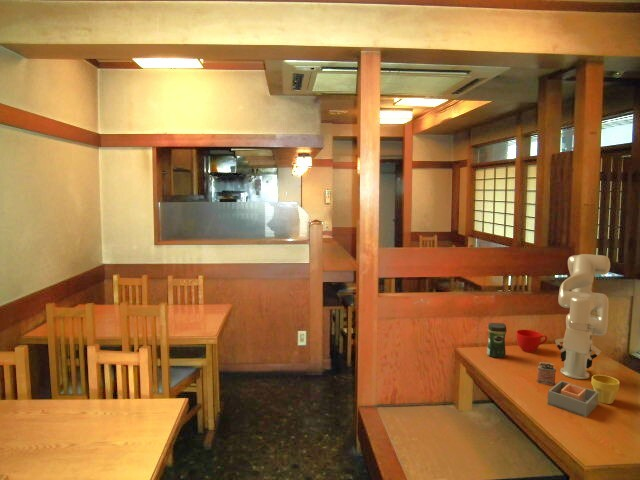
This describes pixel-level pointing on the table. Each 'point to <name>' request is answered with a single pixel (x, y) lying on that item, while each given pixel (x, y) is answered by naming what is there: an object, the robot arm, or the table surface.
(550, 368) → the lighter
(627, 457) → the table surface
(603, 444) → the table surface
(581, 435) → the table surface
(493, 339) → the coffee jar
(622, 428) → the table surface
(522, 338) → the ceramic cup
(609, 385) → the plant pot
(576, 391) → the terracotta crate
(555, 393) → the grey crate
